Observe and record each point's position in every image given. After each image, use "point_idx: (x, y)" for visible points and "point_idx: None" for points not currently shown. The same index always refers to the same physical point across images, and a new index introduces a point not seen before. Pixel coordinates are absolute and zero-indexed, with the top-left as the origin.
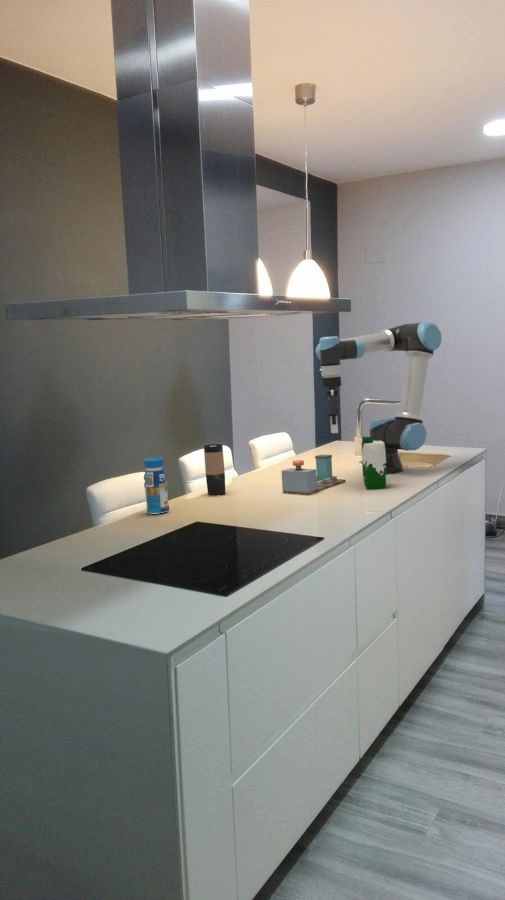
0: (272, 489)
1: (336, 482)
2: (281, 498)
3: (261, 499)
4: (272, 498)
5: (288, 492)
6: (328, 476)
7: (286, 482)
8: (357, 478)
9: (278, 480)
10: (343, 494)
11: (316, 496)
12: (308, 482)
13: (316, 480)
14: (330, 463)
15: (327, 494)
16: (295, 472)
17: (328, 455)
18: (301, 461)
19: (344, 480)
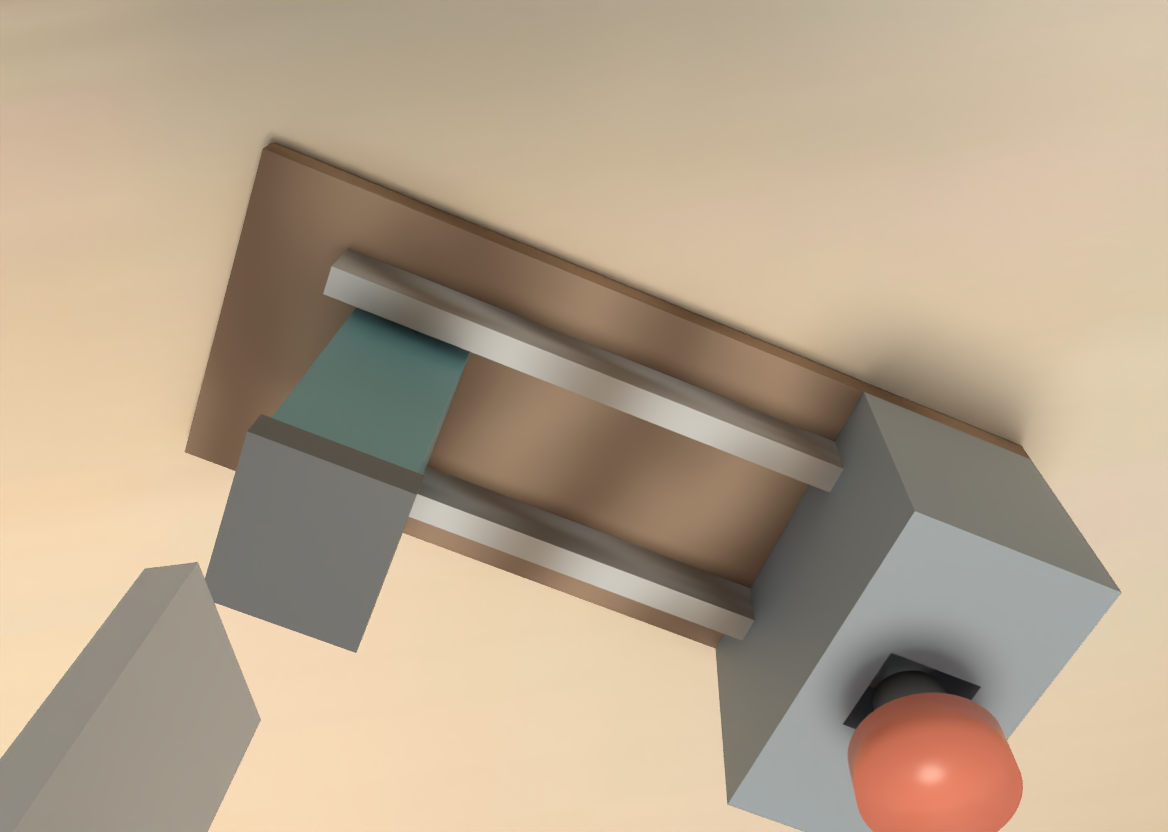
0: (665, 791)
1: (456, 236)
2: (1119, 658)
3: (1117, 801)
4: (1097, 728)
5: None
6: (432, 355)
7: None
8: (25, 19)
9: (233, 811)
10: (1071, 49)
11: (1110, 351)
12: (1049, 507)
13: (888, 440)
14: (327, 397)
15: (1024, 247)
16: (1015, 715)
17: (311, 474)
18: (991, 750)
19: (293, 158)
